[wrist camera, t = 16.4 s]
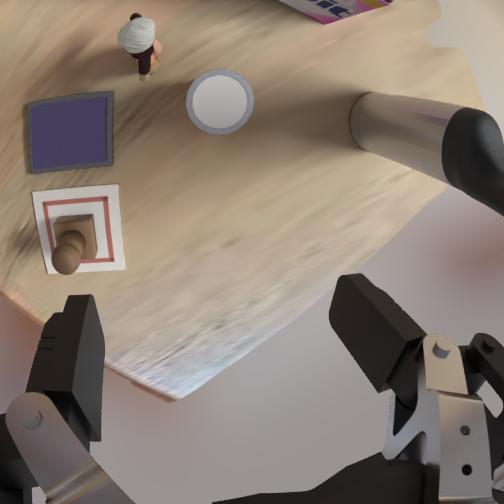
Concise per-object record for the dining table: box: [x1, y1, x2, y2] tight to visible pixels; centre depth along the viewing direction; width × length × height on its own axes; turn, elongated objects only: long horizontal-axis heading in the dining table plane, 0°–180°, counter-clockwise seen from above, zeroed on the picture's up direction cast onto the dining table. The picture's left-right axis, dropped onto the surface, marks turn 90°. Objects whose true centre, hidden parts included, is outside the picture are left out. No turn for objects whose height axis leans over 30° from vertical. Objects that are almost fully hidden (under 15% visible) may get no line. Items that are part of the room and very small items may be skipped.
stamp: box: [51, 214, 98, 275], centre depth 32 cm, size 5×5×9 cm
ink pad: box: [28, 91, 114, 174], centre depth 29 cm, size 11×9×2 cm
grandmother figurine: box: [117, 13, 162, 82], centre depth 23 cm, size 8×4×13 cm, turn 19°
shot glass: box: [186, 69, 255, 135], centre depth 30 cm, size 7×7×7 cm
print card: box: [32, 184, 126, 274], centre depth 36 cm, size 12×12×1 cm
